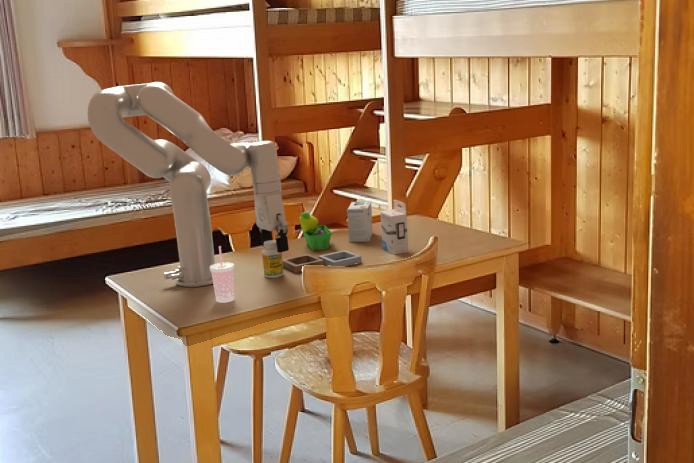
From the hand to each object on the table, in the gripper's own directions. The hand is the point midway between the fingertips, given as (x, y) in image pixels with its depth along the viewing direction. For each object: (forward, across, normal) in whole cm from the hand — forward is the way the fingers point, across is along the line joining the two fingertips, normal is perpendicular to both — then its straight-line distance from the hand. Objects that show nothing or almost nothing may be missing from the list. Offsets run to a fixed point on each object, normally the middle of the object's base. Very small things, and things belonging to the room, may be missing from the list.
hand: (275, 248), depth 226 cm
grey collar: (+8, +1, +19) cm, 21 cm away
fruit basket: (+8, -21, +23) cm, 32 cm away
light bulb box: (+9, -20, +39) cm, 44 cm away
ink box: (+9, +1, +38) cm, 39 cm away
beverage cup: (+7, +10, -20) cm, 24 cm away
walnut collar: (+8, -3, +9) cm, 12 cm away
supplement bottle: (+8, -1, -1) cm, 8 cm away
